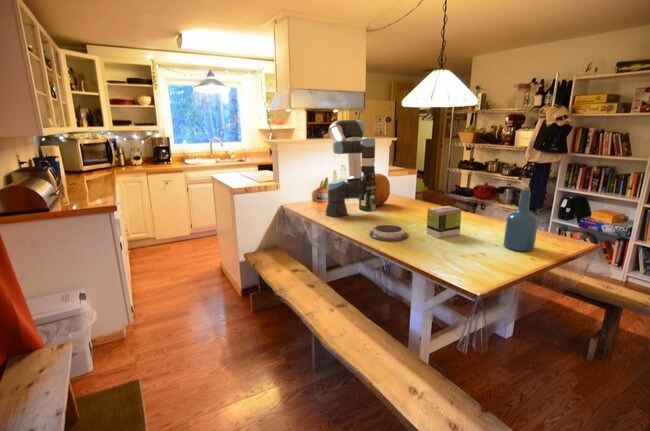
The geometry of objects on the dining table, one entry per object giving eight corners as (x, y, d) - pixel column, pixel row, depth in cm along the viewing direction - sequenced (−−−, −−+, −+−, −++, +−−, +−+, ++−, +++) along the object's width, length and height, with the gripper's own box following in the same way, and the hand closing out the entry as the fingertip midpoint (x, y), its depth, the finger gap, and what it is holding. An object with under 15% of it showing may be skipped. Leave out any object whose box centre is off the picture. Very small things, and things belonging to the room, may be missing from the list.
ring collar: (380, 227, 200) (380, 221, 199) (414, 233, 188) (414, 227, 187) (362, 236, 184) (362, 230, 183) (398, 244, 172) (398, 237, 171)
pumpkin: (358, 209, 246) (358, 168, 238) (353, 202, 267) (353, 164, 260) (393, 208, 248) (394, 167, 240) (385, 201, 269) (386, 164, 262)
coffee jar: (356, 209, 200) (356, 178, 195) (366, 207, 204) (367, 177, 199) (367, 213, 192) (368, 181, 187) (377, 211, 197) (378, 179, 192)
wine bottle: (518, 254, 156) (527, 190, 148) (496, 244, 168) (503, 185, 161) (541, 250, 159) (551, 188, 152) (518, 241, 172) (526, 183, 164)
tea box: (447, 230, 193) (449, 205, 189) (460, 235, 184) (462, 208, 180) (425, 233, 188) (427, 207, 184) (437, 238, 179) (439, 211, 175)
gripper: (364, 167, 181) (363, 208, 187) (382, 163, 197) (381, 201, 203) (352, 167, 185) (352, 206, 191) (371, 162, 202) (370, 199, 208)
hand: (367, 204), depth 197 cm, fingers closed on coffee jar, 8 cm apart
